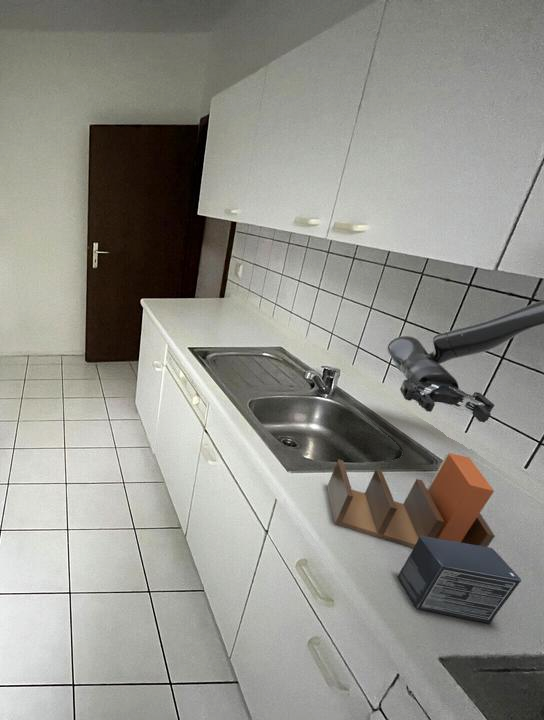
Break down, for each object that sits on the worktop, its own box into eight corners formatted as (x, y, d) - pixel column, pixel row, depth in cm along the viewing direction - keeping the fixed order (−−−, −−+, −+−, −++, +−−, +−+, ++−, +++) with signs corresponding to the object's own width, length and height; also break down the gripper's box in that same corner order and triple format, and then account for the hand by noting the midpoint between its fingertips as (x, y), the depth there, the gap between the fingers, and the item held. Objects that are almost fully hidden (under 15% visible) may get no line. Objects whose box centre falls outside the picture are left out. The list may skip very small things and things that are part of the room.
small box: (463, 587, 68) (493, 545, 63) (492, 625, 62) (526, 582, 57) (395, 574, 70) (418, 532, 65) (415, 609, 64) (443, 566, 59)
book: (436, 513, 81) (469, 456, 75) (455, 550, 73) (494, 491, 67) (416, 507, 83) (447, 451, 76) (433, 544, 74) (470, 485, 68)
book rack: (448, 520, 81) (465, 491, 78) (473, 566, 71) (495, 536, 68) (327, 486, 89) (338, 459, 86) (334, 524, 80) (347, 494, 76)
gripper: (398, 360, 93) (421, 389, 80) (475, 372, 88) (513, 405, 75) (387, 387, 96) (407, 419, 83) (460, 400, 91) (494, 437, 78)
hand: (457, 413), depth 79 cm, fingers open, 8 cm apart
